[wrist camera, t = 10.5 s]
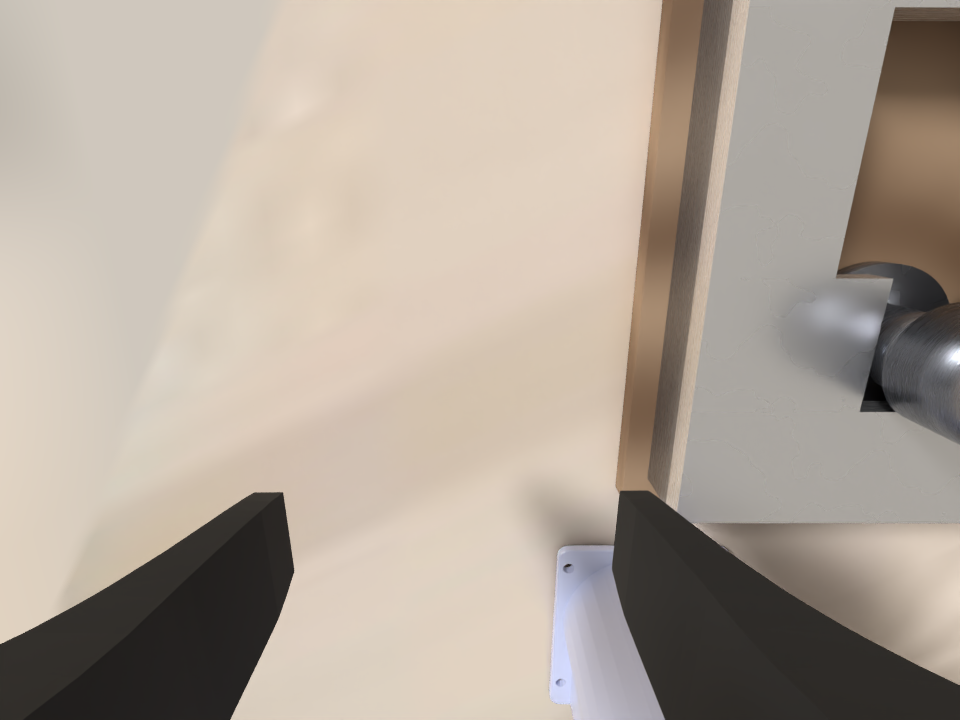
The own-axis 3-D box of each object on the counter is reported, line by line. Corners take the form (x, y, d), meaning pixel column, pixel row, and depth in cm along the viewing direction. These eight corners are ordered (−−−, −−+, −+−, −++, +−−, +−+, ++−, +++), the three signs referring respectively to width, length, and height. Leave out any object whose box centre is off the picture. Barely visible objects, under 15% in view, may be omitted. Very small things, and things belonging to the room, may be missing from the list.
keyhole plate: (998, 478, 21) (1085, 523, 18) (647, 478, 21) (675, 523, 18) (1201, -82, 15) (1379, -153, 12) (714, -84, 15) (772, -156, 12)
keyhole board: (991, 486, 22) (1014, 498, 21) (615, 485, 22) (621, 498, 21) (1203, -103, 16) (1249, -123, 15) (672, -105, 16) (685, -125, 15)
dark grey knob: (909, 402, 20) (1180, 525, 12) (771, 401, 20) (957, 523, 12) (951, 262, 18) (1295, 302, 10) (800, 260, 18) (1035, 299, 10)
